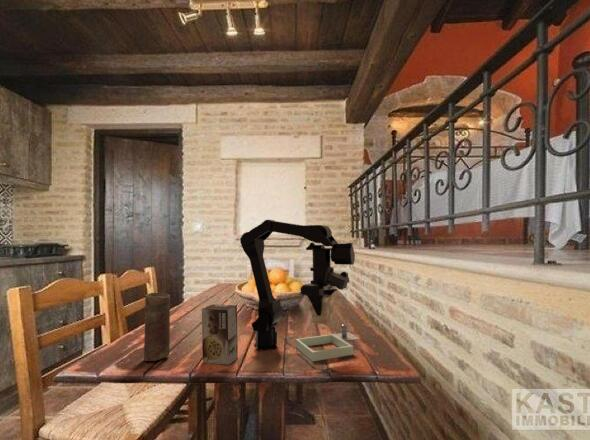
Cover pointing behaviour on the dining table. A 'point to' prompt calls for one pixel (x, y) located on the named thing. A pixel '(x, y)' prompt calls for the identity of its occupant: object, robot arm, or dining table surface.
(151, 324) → the candle
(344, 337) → the stud block
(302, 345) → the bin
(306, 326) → the dining table surface
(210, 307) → the coffee box
